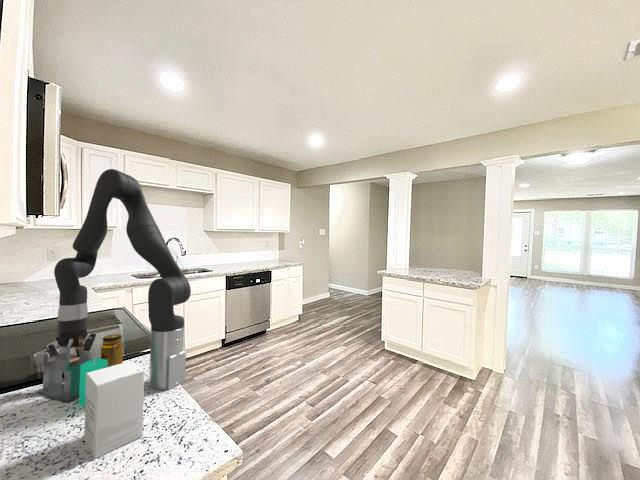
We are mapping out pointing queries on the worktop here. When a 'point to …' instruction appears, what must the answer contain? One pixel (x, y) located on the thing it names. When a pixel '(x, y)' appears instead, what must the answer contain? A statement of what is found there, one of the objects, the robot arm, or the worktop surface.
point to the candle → (84, 369)
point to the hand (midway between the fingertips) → (71, 368)
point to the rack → (54, 374)
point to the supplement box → (113, 407)
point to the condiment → (112, 349)
